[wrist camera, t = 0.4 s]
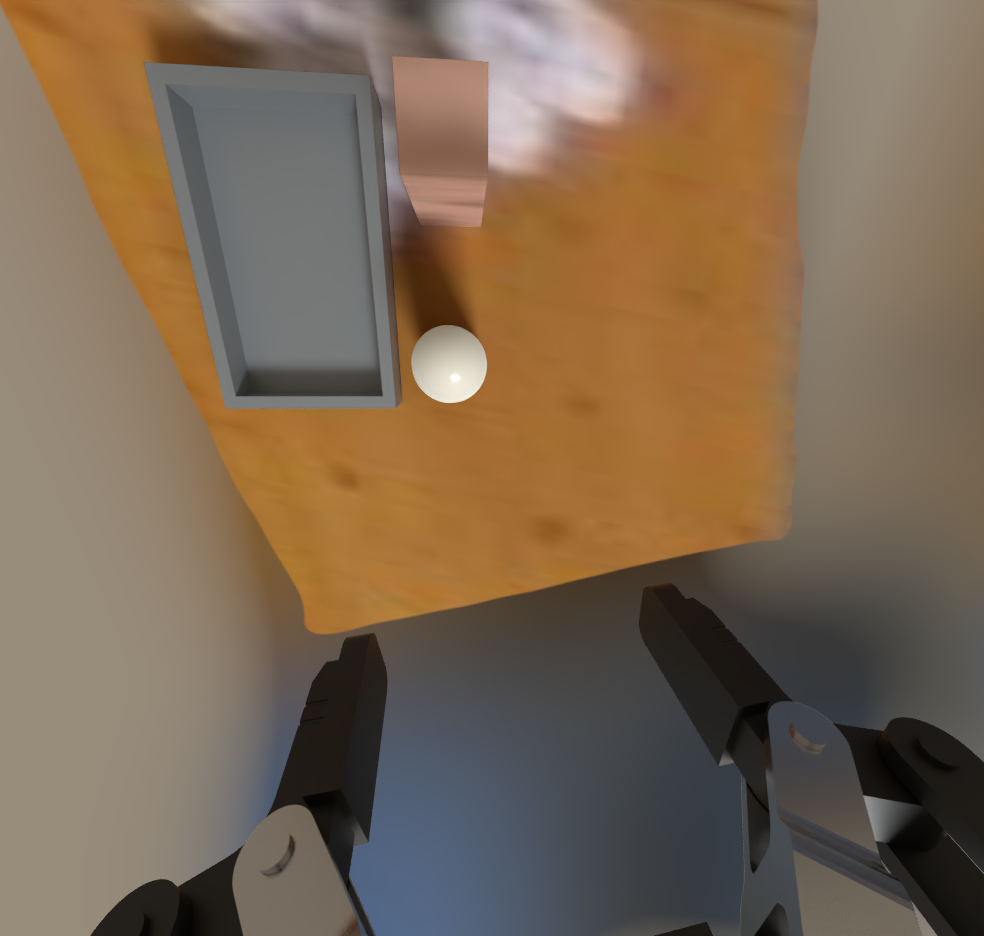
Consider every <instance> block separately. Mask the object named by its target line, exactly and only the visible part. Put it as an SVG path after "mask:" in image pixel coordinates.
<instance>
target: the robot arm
mask: <svg viewBox="0 0 984 936" xmlns="http://www.w3.org/2000/svg"><path fill="white" fill-rule="evenodd" d="M639 629H640V633H641V636H642V639H643V641H644V643H645V645H646V647H647V648H648V650H649V651H650V653H651V655H652V656H653V658H654V659H655V661H656V663H657V665H658V667H659V668H660V670H661V671H662V673H663V675H664V676H665V678H666V680H667V681H668V683H669V685H670V686H671V688H672V690H673V691H674V693H675V695H676V696H677V698H678V700H679V701H680V703H681V704H682V706H683V708H684V709H685V711H686V713H687V715H688V716H689V718H690V719H691V721H692V723H693V724H694V726H695V727H696V729H697V731H698V733H699V734H700V736H701V738H702V739H703V741H704V743H705V744H706V746H707V748H708V749H709V751H710V752H711V754H712V756H713V757H714V759H715V761H716V763H717V764H718V766H721V765H725V764H730V763H735V764H736V766H737V767H738V769H739V770H740V772H741V773H742V779H741V793H742V819H743V844H744V845H743V846H744V871H745V872H744V888H743V894H742V900H741V912H740V936H922V934H921V930H920V927H919V924H918V921H917V917H916V914H915V911H914V908H913V905H912V902H913V903H914V905H915V906H916V907H917V908H918V910H919V911H920V912H921V914H922V915H923V917H924V918H925V919H926V921H927V922H928V923H929V925H930V926H931V927H932V929H933V930H934V931H935V933H936V934H937V935H938V936H984V874H983V873H982V872H981V871H980V869H981V870H982V871H983V872H984V762H983V761H982V760H981V759H980V758H978V757H977V756H976V755H975V754H974V753H973V752H972V751H971V750H970V749H968V748H967V747H966V746H965V745H964V744H962V743H961V742H960V741H958V740H957V739H955V738H954V737H953V736H951V735H949V734H948V733H946V732H945V731H943V730H941V729H939V728H937V727H935V726H933V725H931V724H928V723H926V722H923V721H920V720H917V719H913V718H906V717H905V718H904V717H901V718H895V719H893V720H891V721H890V723H889V724H888V725H887V727H886V728H885V730H884V731H879V730H873V729H866V728H859V727H852V726H846V725H839V724H835V723H832V722H831V721H830V720H828V719H827V718H826V717H825V716H823V715H822V714H820V713H819V712H817V711H815V710H814V709H812V708H810V707H808V706H805V705H803V704H799V703H796V702H793V701H792V700H791V699H790V698H789V697H788V696H787V695H786V694H785V693H784V692H783V691H782V690H781V688H780V687H779V686H778V685H777V684H776V683H775V682H774V681H773V679H772V678H771V677H770V676H769V675H768V674H767V673H766V671H765V670H764V669H763V668H762V667H761V666H760V665H759V663H758V662H757V661H756V660H755V659H754V658H753V657H752V656H751V654H750V653H749V652H748V651H747V650H746V649H745V648H744V647H743V645H742V644H741V643H738V641H737V639H736V637H735V636H734V635H733V634H732V633H731V632H730V631H729V630H728V629H726V627H725V625H724V624H723V623H722V622H721V620H720V619H719V618H718V617H717V616H716V615H715V614H714V613H713V611H712V610H710V609H709V608H708V607H706V606H705V605H702V604H701V603H700V602H699V601H697V600H696V599H694V598H689V599H685V597H684V596H683V595H682V594H681V593H680V591H679V590H678V589H677V588H676V587H675V586H674V585H673V584H671V583H664V584H658V585H653V586H647V587H645V588H644V589H643V595H642V602H641V609H640V617H639ZM386 695H387V671H386V666H385V663H384V660H383V657H382V654H381V651H380V648H379V645H378V641H377V638H376V636H375V634H374V633H370V634H364V635H358V636H353V637H347V638H346V639H345V640H344V643H343V646H342V649H341V653H340V657H339V660H335V661H330V662H326V663H325V665H324V666H323V668H322V669H321V670H320V672H319V673H318V675H317V676H316V678H315V679H314V680H313V682H312V685H311V688H310V691H309V695H308V698H307V701H306V707H305V708H304V710H303V713H302V716H301V720H300V726H298V729H297V732H296V735H295V738H294V741H293V744H292V747H291V751H290V754H289V757H288V760H287V763H286V766H285V769H284V772H283V776H282V779H281V782H280V786H279V788H278V791H277V794H276V797H275V800H274V803H273V805H272V808H271V809H270V811H269V813H268V815H267V817H266V818H265V819H264V820H263V821H262V822H261V823H260V824H259V825H258V826H257V827H256V828H255V830H254V831H253V832H252V833H251V835H250V836H249V837H248V839H247V841H246V842H245V844H244V845H243V846H242V847H241V848H239V849H238V850H237V851H236V852H234V853H233V854H231V855H230V856H228V857H227V858H226V859H224V860H222V861H220V862H219V863H217V864H215V865H214V866H212V867H210V868H209V869H207V870H205V871H204V872H202V873H200V874H198V875H197V876H195V877H194V878H192V879H190V880H188V881H187V882H185V883H183V884H182V885H180V886H178V887H177V886H176V885H175V884H174V883H173V882H171V881H169V880H165V879H159V880H154V881H151V882H149V883H146V884H144V885H142V886H140V887H139V888H137V889H135V890H134V891H133V892H131V893H130V894H128V895H127V896H126V897H125V898H124V899H122V900H121V901H120V902H119V903H118V904H117V905H116V906H115V907H114V908H113V909H112V910H111V911H110V912H109V913H108V914H107V915H106V916H105V918H104V919H103V920H102V921H101V922H100V924H99V925H98V926H97V927H96V929H95V930H94V931H93V933H92V934H91V936H377V935H376V933H375V931H374V929H373V927H372V924H371V922H370V920H369V918H368V915H367V913H366V911H365V909H364V907H363V904H362V902H361V900H360V898H359V896H358V893H357V891H356V889H355V887H354V885H353V882H352V880H351V878H350V876H349V872H350V865H351V858H352V852H353V846H354V845H359V844H364V843H368V842H369V832H370V825H371V817H372V809H373V801H374V792H375V784H376V777H377V768H378V761H379V752H380V744H381V736H382V728H383V720H384V712H385V704H386ZM948 834H949V835H950V836H951V837H952V838H953V839H954V840H955V842H956V843H957V844H958V845H959V846H960V847H961V848H962V849H963V850H964V851H965V853H966V854H967V855H968V856H969V857H970V858H971V859H972V860H973V861H974V862H975V863H976V865H977V866H978V867H979V868H980V869H979V868H978V867H977V866H976V865H975V864H974V863H973V862H972V861H971V860H970V858H969V857H968V856H967V855H966V854H965V853H964V852H963V851H962V850H961V848H960V847H959V846H958V845H957V844H956V843H955V842H954V841H953V840H952V839H951V837H950V836H949V835H948ZM881 860H882V861H883V863H884V864H885V866H886V867H887V868H888V870H889V871H890V872H891V874H890V873H888V872H887V870H886V869H885V867H884V866H883V864H882V861H881ZM911 901H912V902H911ZM655 936H713V935H712V933H711V930H710V928H709V926H708V924H707V922H704V923H700V924H697V925H693V926H689V927H685V928H682V929H678V930H674V931H671V932H667V933H663V934H659V935H655Z"/></svg>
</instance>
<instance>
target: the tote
mask: <svg viewBox="0 0 984 936" xmlns="http://www.w3.org/2000/svg"><path fill="white" fill-rule="evenodd" d="M144 66H145V70H146V74H147V79H148V83H149V87H150V91H151V95H152V100H153V104H154V108H155V112H156V116H157V121H158V125H159V129H160V133H161V138H162V142H163V146H164V150H165V154H166V159H167V163H168V167H169V171H170V175H171V180H172V184H173V188H174V192H175V197H176V201H177V205H178V209H179V213H180V218H181V222H182V226H183V230H184V234H185V239H186V243H187V247H188V251H189V255H190V260H191V264H192V268H193V272H194V277H195V281H196V285H197V289H198V293H199V298H200V302H201V306H202V310H203V314H204V319H205V323H206V327H207V331H208V336H209V340H210V344H211V348H212V352H213V357H214V361H215V365H216V369H217V373H218V378H219V382H220V386H221V390H222V395H223V399H224V403H225V407H226V409H238V408H396V407H397V406H398V405H399V404H400V403H401V402H402V389H401V376H400V362H399V348H398V335H397V321H396V307H395V294H394V280H393V266H392V253H391V239H390V225H389V212H388V198H387V184H386V171H385V157H384V143H383V130H382V116H381V106H380V103H379V101H378V98H377V95H376V93H375V90H374V87H373V84H372V82H371V79H370V76H369V75H357V74H340V73H322V72H305V71H288V70H270V69H253V68H236V67H218V66H201V65H184V64H166V63H149V62H144Z"/></svg>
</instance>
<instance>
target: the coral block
mask: <svg viewBox="0 0 984 936" xmlns="http://www.w3.org/2000/svg"><path fill="white" fill-rule="evenodd" d="M392 60H393V76H394V92H395V108H396V124H397V140H398V156H399V172H400V175H401V178H402V180H403V183H404V185H405V188H406V190H407V193H408V195H409V198H410V200H411V203H412V205H413V208H414V210H415V213H416V215H417V218H418V220H419V223H420V225H437V226H469V227H481V222H482V215H483V208H484V200H485V193H486V186H487V178H488V62H483V61H467V60H451V59H435V58H419V57H403V56H392Z"/></svg>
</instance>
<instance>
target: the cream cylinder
mask: <svg viewBox="0 0 984 936" xmlns="http://www.w3.org/2000/svg"><path fill="white" fill-rule="evenodd" d="M411 365H412V372H413V375H414V378H415V380H416V382H417V384H418V385H419V387H420V388H421V389H422V390H423V392H424V393H426V394H427V395H428V396H430V397H431V398H433V399H435V400H438V401H441V402H445V403H456V402H460V401H463V400H466V399H468V398H469V397H471V396H472V395H473V394H475V393H476V392H477V391H478V389H479V388H480V387H481V385H482V383H483V381H484V379H485V376H486V371H487V360H486V355H485V352H484V349H483V347H482V345H481V344H480V342H479V341H478V339H477V338H476V337H475V336H474V335H473V334H472V333H470V332H469V331H467V330H465V329H463V328H461V327H458V326H454V325H442V326H438V327H435V328H433V329H431V330H429V331H427V332H426V333H425V334H424V335H423V336H422V337H421V338H420V339H419V340H418V342H417V343H416V345H415V347H414V350H413V354H412V360H411Z"/></svg>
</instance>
